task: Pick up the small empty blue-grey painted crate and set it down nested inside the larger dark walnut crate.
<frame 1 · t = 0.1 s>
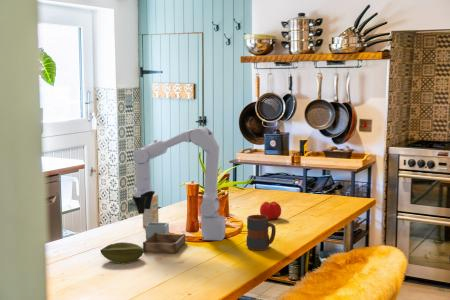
hand: (144, 211, 240), 10 cm above the table, fingers open, 7 cm apart
mug: (261, 248, 221), on the table
fruit: (123, 261, 209), on the table
grey crate: (157, 237, 237), on the table
walnut crate: (164, 247, 223), on the table
supplement box: (151, 225, 257), on the table
tomato: (270, 219, 265), on the table
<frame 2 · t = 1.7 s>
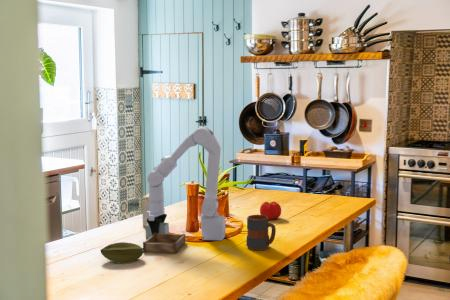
hand: (157, 234, 237), 1 cm above the table, fingers closed on grey crate, 5 cm apart
grey crate: (157, 237, 237), on the table, touching gripper
everything else where it was.
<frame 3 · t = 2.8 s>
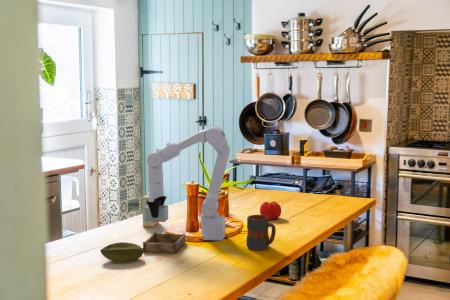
hand: (157, 216, 236), 9 cm above the table, fingers closed on grey crate, 5 cm apart
grey crate: (156, 220, 236), point 7 cm above the table, touching gripper
everything else where it was.
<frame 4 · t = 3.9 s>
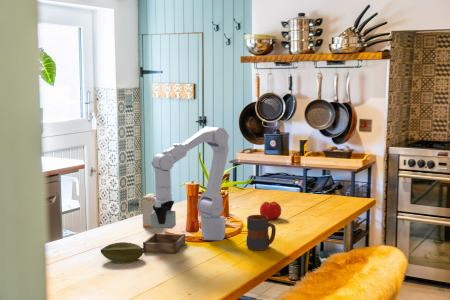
hand: (164, 222, 222), 10 cm above the table, fingers closed on grey crate, 5 cm apart
grey crate: (163, 226, 222), point 8 cm above the table, touching gripper
everything else where it was.
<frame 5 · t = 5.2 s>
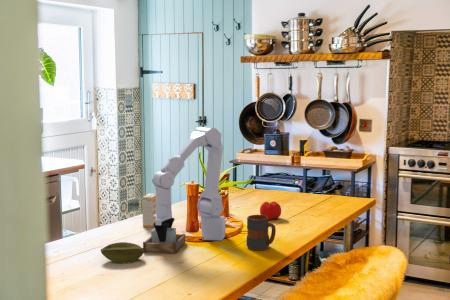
hand: (164, 239, 223), 3 cm above the table, fingers closed on grey crate, 5 cm apart
grey crate: (164, 243, 223), point 2 cm above the table, touching gripper
everything else where it was.
when the fingers open (3 cm above the table, at t = 6.1 s): grey crate stays where it is, resting on walnut crate.
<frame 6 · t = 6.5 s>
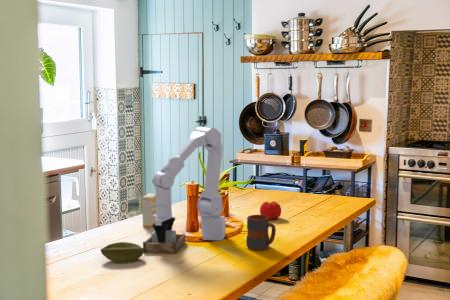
hand: (164, 239, 223), 3 cm above the table, fingers open, 7 cm apart
grey crate: (164, 246, 223), point 1 cm above the table, touching walnut crate
everything else where it was.
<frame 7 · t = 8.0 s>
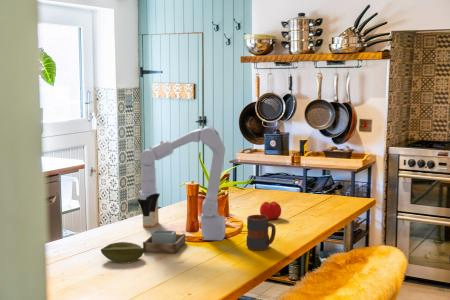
hand: (149, 213, 235), 10 cm above the table, fingers open, 7 cm apart
nothing on the table moved.
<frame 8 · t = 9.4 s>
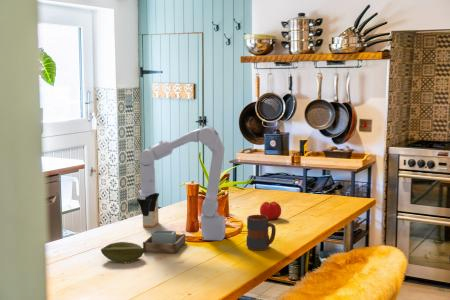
hand: (148, 213, 235), 10 cm above the table, fingers open, 7 cm apart
nothing on the table moved.
at the end: grey crate inside the target area on the walnut crate (0.2 cm from its centre), point 0.6 cm above the walnut crate's base; grey crate tilted 0°; the gripper is holding nothing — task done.
